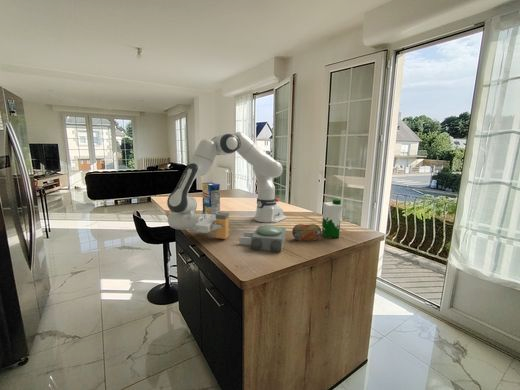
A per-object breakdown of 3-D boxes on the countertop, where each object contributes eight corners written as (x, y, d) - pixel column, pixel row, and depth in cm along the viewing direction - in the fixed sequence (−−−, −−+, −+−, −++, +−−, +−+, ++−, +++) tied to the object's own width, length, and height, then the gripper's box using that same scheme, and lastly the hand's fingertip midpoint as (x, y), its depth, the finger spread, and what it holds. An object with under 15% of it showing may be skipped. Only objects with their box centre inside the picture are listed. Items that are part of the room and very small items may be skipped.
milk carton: (341, 238, 139) (344, 201, 135) (324, 238, 138) (327, 201, 134) (335, 233, 147) (338, 198, 144) (319, 233, 147) (322, 198, 143)
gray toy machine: (236, 248, 122) (236, 232, 120) (246, 234, 141) (246, 221, 140) (280, 252, 118) (281, 236, 117) (285, 238, 137) (286, 224, 136)
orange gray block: (216, 237, 132) (215, 214, 129) (219, 234, 136) (219, 212, 134) (225, 238, 131) (225, 215, 128) (228, 235, 135) (228, 213, 133)
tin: (292, 240, 134) (293, 224, 132) (291, 238, 137) (292, 223, 135) (321, 240, 135) (322, 224, 134) (319, 238, 138) (320, 223, 137)
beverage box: (211, 218, 171) (210, 185, 167) (202, 214, 179) (202, 183, 175) (220, 216, 175) (219, 184, 171) (211, 213, 183) (211, 182, 179)
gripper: (189, 222, 124) (216, 224, 121) (205, 211, 144) (230, 213, 141) (189, 234, 125) (216, 237, 123) (206, 222, 145) (230, 224, 142)
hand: (224, 224), depth 132 cm, fingers closed on orange gray block, 5 cm apart
